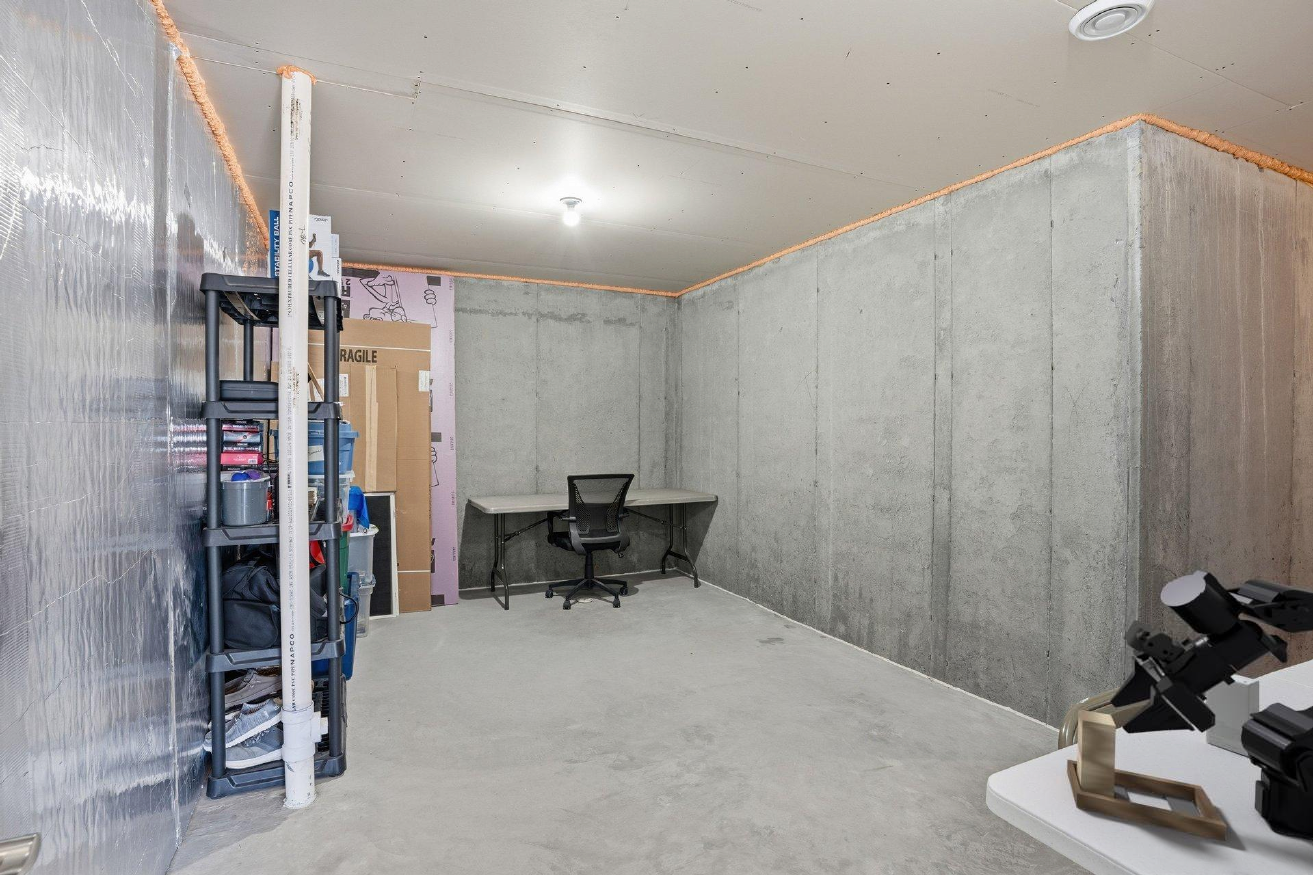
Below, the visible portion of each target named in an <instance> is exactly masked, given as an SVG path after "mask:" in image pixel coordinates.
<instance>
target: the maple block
mask: <svg viewBox="0 0 1313 875" xmlns="http://www.w3.org/2000/svg"><path fill="white" fill-rule="evenodd" d="M1077 714H1078V719H1077V721H1078V722H1077V750H1076V751H1077V753H1076V754H1077V755H1076V756H1077V757H1076V761H1077V779H1078V783H1079V786H1080V789H1081V791H1083V792H1088V793H1092V794H1097V795H1102V796H1106V797H1111V798H1115V796H1114V773H1115V769H1116V768H1115V767H1116V764H1115V763H1116V760H1115V759H1116V737H1117V736H1116V734H1117V732H1116V731H1117V726H1116V724H1115V722H1114V719H1113V717H1112V715H1111V714H1107V713H1101V712H1095V711H1090V710H1084V709H1078V712H1077Z"/></svg>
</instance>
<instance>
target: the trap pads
mask: <svg viewBox="0 0 1313 875" xmlns="http://www.w3.org/2000/svg"><path fill="white" fill-rule="evenodd" d="M1164 797H1165V800H1166V802H1167V804H1168V806H1169V808H1170V810H1171V811H1176V812H1180V813H1185V814H1190V815H1194V816H1199V817H1202V815H1201V813H1200V811H1199V810H1198V808H1196V807H1197V806H1196V804H1195V803H1194V801H1192V800H1190V799H1185V798H1181V797H1176V796H1171V795H1166V794H1165V795H1164ZM1114 798H1116V799H1120V800H1125V801H1130V798H1129V797H1128V794H1127V792H1126V789H1125V787H1124V786H1123V785H1118V784H1114Z"/></svg>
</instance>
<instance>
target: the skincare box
mask: <svg viewBox="0 0 1313 875" xmlns="http://www.w3.org/2000/svg"><path fill="white" fill-rule="evenodd" d="M1231 677H1232V678H1233V679H1234V680H1235V682H1234V683H1232V684H1231V685H1228V684H1226V683H1225V682H1224V681H1223V682H1221V683H1220V684H1218V685H1216V686H1215V687H1213V688H1212V689H1210V690H1208V691H1207V692H1205V696H1206V698H1207V699H1206V700H1205V703H1206V704H1207V705H1208V707H1209V708H1210V709H1211V710H1212V711H1213V713H1214V714H1215V725H1214V726H1213V727H1211V728H1209V729H1208V730H1206V731H1205V732H1206V733H1205V742H1206V743H1208V744H1210V745H1213V746H1216V747H1219V748H1222V749H1225V750H1228V751H1231V752H1234V753H1237V754H1239V755H1243V756H1246V757H1248V758H1249V756H1248V753H1247V752H1246V750H1245V749H1244V748H1243V745H1242V743H1241V733H1242V726H1243V724H1244V723H1245V722H1247V721H1248V720H1250V719H1252V718H1253V717H1251V716H1250V714H1251V713H1258V712H1260V681H1259V680H1257V679H1254V678H1250V677H1246V676H1243V675H1238V674H1237V673H1236V674H1234V675H1233V676H1231Z"/></svg>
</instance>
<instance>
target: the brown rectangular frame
mask: <svg viewBox="0 0 1313 875" xmlns="http://www.w3.org/2000/svg"><path fill="white" fill-rule="evenodd" d="M1066 762H1067V763H1066V772H1067V773H1066V774H1067V776H1068V781H1069V784H1070V788H1071V792H1072V794H1073V795H1072V796H1073V798H1074V802H1075V808H1078V809H1082V810H1086V811H1087V810H1088V811H1091V812H1094V813H1100V814H1104V815H1108V816H1113V817H1117V818H1122V819H1127V820H1131V821H1135V822H1139V823H1144V824H1147V825H1148V824H1149V825H1152V826H1156V827H1163V828H1167V829H1170V830H1176V831H1179V832H1183V833H1187V834H1192V835H1197V836H1201V837H1206V838H1211V839H1215V840H1219V841H1223V842H1226V840H1227V825H1226V824H1225V822H1224V820H1223V819H1222V817H1221V816H1220V814H1219V812H1218V810H1217V809H1216V807H1215V806H1214V804H1213V803H1212V802H1211V800H1210V798H1209V796H1208V794H1207V793H1206V792H1205V790H1204V788H1203V787H1202V786H1201V785H1199V784H1192V783H1187V782H1183V781H1177V780H1172V779H1168V778H1163V777H1157V776H1154V775H1153V776H1152V775H1147V774H1143V773H1138V772H1133V771H1127V770H1122V769H1117V768H1115V773H1114V784H1118V785H1123V786H1124V788H1128V789H1133V790H1138V791H1143V792H1147V793H1152V794H1157V795H1162V796H1165V794H1166V795H1171V796H1176V797H1181V798H1185V799H1190V800H1192V802H1193V803H1194V805H1195V807H1197V810H1198V812H1199V813H1200V815H1201V817H1199V816H1194V815H1190V814H1185V813H1180V812H1176V811H1172V810H1171V809H1165V808H1162V807H1157V806H1152V805H1148V804H1143V803H1138V802H1133V801H1130V800H1129V801H1125V800H1120V799H1116V798H1115V797H1114V798H1111V797H1106V796H1102V795H1097V794H1092V793H1088V792H1083V791H1081V789H1080V786H1079V783H1078V779H1077V760H1072V759H1067V761H1066Z"/></svg>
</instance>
